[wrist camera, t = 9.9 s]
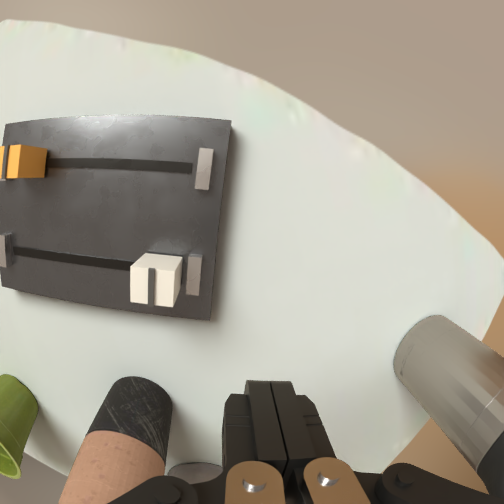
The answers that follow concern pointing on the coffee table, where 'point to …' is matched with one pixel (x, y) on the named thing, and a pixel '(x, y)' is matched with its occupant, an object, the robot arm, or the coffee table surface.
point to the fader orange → (22, 161)
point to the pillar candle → (196, 472)
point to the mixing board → (115, 207)
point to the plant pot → (14, 423)
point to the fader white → (156, 279)
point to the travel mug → (121, 443)
